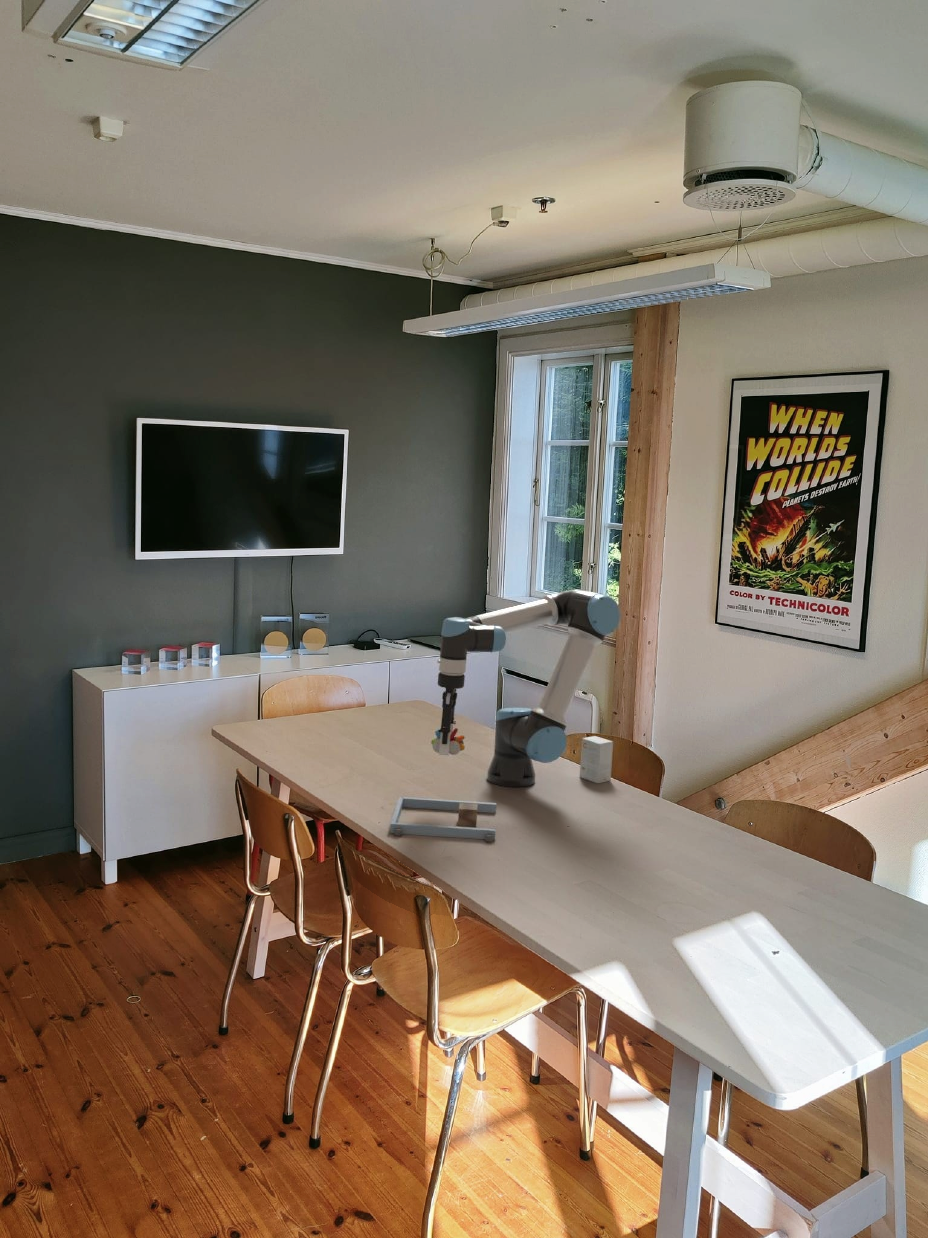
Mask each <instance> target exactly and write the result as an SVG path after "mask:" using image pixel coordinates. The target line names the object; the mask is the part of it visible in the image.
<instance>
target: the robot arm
mask: <svg viewBox="0 0 928 1238" xmlns="http://www.w3.org/2000/svg"><path fill="white" fill-rule="evenodd" d="M620 621H621V611H620V609H619V604H618V602H616V600H615V599H614V598H613V597H611V596H609V595H606V594H603V593H600V592H593V591H588V590H585V589H576V588H575V589H568V590H563V591H559V592H554V593H552V594H547V595H544V596H542V597H541V599H540V600H536V601H532V602H528V603H524V604H520V605H516V606H515V605H514V606H512V607H511V606H510V607H507V608H502V609H498V610H495V611H491V612H487V613H482V614H478V615H473V616H469V617H461V616H458V617H457V616H454V617H447V618H445V619H444V620H443V623H442V628H441V638H440V652H439V659H438V660H437V661H436V662H437V664H439V666H438V674H437V675H438V676H437V686H439V687H440V688H445V691H443V693H442V698H441V699H442V706H441V708H442V711H441V715H442V716H441V721H440V722H441V724H440V729H437V730H438V732H441V735H440V747H439V753H438V756H447V757H448V756H449V755H450V754H449V745H450V735H451V733H452V732H453V730H454V725H456V723H457V721H455V709H456V704H457V698H458V692H457V690H459V689H463V688H464V687H465V676H466V675H465V673H466V670H467V669H466V668H467V656H468V655H467V654H468V653H491V654H492V653H496V652H501V651H503V649H505V646H506V643H507V634H510V633H515V632H519V631H523V630H528V629H531V628H535V627H539V626H543V625H547V626H550V627H551V626H552V627H553V626H556V625H566V626H567V627H566V628H567V630H568V633H569V635H568V638H567V639H566V642H565V644H564V646H563V648H562V651H561V654H560V656H559V657H558V661H557V663H556V665H555V667H554V669H553V672H552V674H551V676H550V678H549V681H548V684H547V686H546V689H545V690H544V693H543V696H542V698H541V699H540V702H539V705H538V706H537V707H534V708H529V707H528V708H527V707H505V708H500V709H499V710H497V713H496V717H495V731H494V750H493V751H494V752H493V756H492V759H491V762H490V764H489V767H488V769H487V775H486V776H487V777H486V779H487V780H488V781H489V782H490V783H492V784H495V785H499V786H501V787H502V786H503V787H507V788H508V787H510V788H521V787H528V786H532V785H533V784H535V783H536V773H535V767H534V764H533V761H535V762H539V763H543V764H549V763H552V762H553V761H557V760H558V759H559V758H560V757H562V755H563V754H564V752H565V750H566V748H567V744H568V739H567V734H566V732H565V731H566V728H567V726H568V724H567V721H566V716H567V713H568V711H569V708H570V706H571V704H572V701H573V699H574V697H575V694H576V692H577V689H578V687H579V686H580V682H581V680H582V678H583V675H584V674H585V671H586V669H587V667H588V664H589V661H590V659H591V657H592V655H593V652H594V650H595V648H596V646H598V645H600V644H602V643H603V642H604V639H605V637H606V636H607V635H610V634H612V633H613V632H615V631H616V630H617V628H618V627H619V624H620ZM445 727H447V728H445Z"/></svg>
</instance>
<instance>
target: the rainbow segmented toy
mask: <svg viewBox="0 0 928 1238" xmlns="http://www.w3.org/2000/svg"><path fill="white" fill-rule="evenodd" d="M445 728H447V727H445ZM438 730H439V729H436V730H435V731H434V734H435V736H436V738H433V739H432V740H431V741H430V744H431V745H432V746H431V747H432V749H433V751H434V752H436V753H437V754H439V747H440V735H441V732H438ZM458 730H459V729H458V728H456V727H455V728H453V732H452V733H451V735H450V745H449V755H452V756H453V755H454V756H456V755H458V754H459V753H460V751H464V750H465V748H466V747H465V744H464V743H465V742H464V739H466V737H465V735H459V736H456V735H457V733H458Z"/></svg>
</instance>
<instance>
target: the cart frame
mask: <svg viewBox="0 0 928 1238" xmlns="http://www.w3.org/2000/svg"><path fill="white" fill-rule="evenodd" d="M459 803H469V804H478V805H477V813H490V814H497V813H496V812H497V803H496V802H483V801H468V800H454V799H453V800H451V799H439V798H438V799H436V798H420V797H407V796H405V797H404V796H399V797H398V800H397V802H396V806H395V808H394V812H393V815H392V817H391V821H390V824H389V825H390V826H389V833H390V834H393V836H394V837H402V835H416V836H431V837H447V838H461V839H475V840H484V842H486V843H489V844H490V843H493V841H496V832H497V831H496V829H494V828H485V827H483V828H481V827H462V826H451V825H435V824H421V823H420V824H419V823H406V822H399V820H400V817H401V814H402V809H404V808H412V809H413V808H414V809H430V810H442V811H443V810H446V811H458V812H459Z"/></svg>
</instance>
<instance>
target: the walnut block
mask: <svg viewBox="0 0 928 1238" xmlns="http://www.w3.org/2000/svg"><path fill="white" fill-rule="evenodd" d="M477 805H478V804H469V803H459V811H458V815H457V817H458V818H457V819H458V820H457V827H469V828H477V823H478V821H477V820H478V818H477V817H478V812H477Z"/></svg>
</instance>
